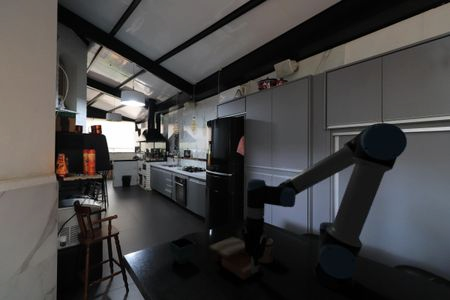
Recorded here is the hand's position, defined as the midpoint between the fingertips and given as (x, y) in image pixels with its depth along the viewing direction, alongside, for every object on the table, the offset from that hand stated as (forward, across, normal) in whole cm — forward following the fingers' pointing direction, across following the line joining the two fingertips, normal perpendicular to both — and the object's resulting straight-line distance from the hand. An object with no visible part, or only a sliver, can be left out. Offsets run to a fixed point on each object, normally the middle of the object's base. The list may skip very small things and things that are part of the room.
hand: (253, 271), depth 89 cm
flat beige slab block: (+2, +14, 0) cm, 14 cm away
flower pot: (+2, +30, +16) cm, 34 cm away
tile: (+2, +8, 0) cm, 8 cm away
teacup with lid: (+2, +6, -16) cm, 17 cm away
